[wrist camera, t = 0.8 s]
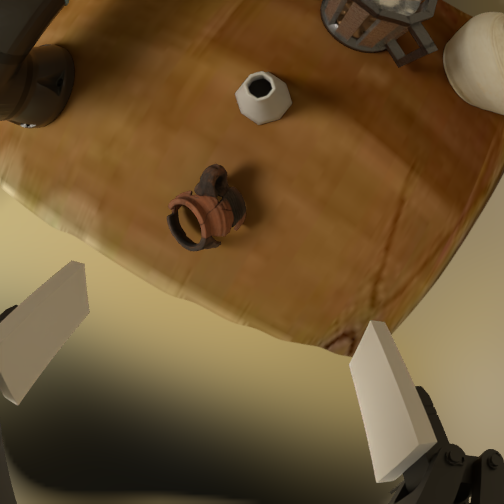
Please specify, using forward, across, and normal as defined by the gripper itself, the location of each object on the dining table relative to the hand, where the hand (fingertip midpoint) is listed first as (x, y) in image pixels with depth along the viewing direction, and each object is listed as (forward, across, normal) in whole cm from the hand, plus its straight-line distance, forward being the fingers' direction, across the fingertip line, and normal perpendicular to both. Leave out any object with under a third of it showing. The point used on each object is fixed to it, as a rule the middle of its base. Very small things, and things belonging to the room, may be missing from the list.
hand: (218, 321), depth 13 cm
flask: (+31, -1, +12) cm, 33 cm away
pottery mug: (+31, -5, -3) cm, 31 cm away
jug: (+30, +30, +28) cm, 51 cm away
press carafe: (+31, +11, +27) cm, 42 cm away
